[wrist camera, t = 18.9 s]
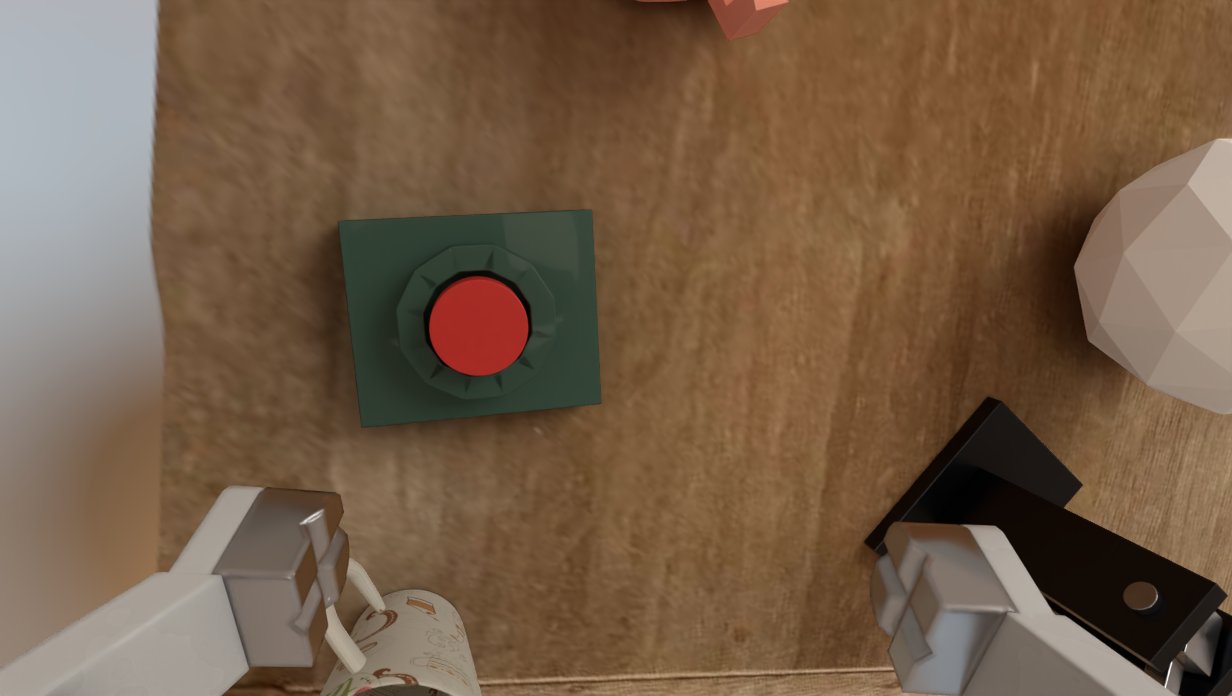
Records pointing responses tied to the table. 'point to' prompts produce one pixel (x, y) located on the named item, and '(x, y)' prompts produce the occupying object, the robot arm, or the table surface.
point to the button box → (434, 259)
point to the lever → (1191, 656)
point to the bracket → (1067, 547)
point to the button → (478, 326)
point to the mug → (400, 646)
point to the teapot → (741, 15)
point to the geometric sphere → (1166, 277)
